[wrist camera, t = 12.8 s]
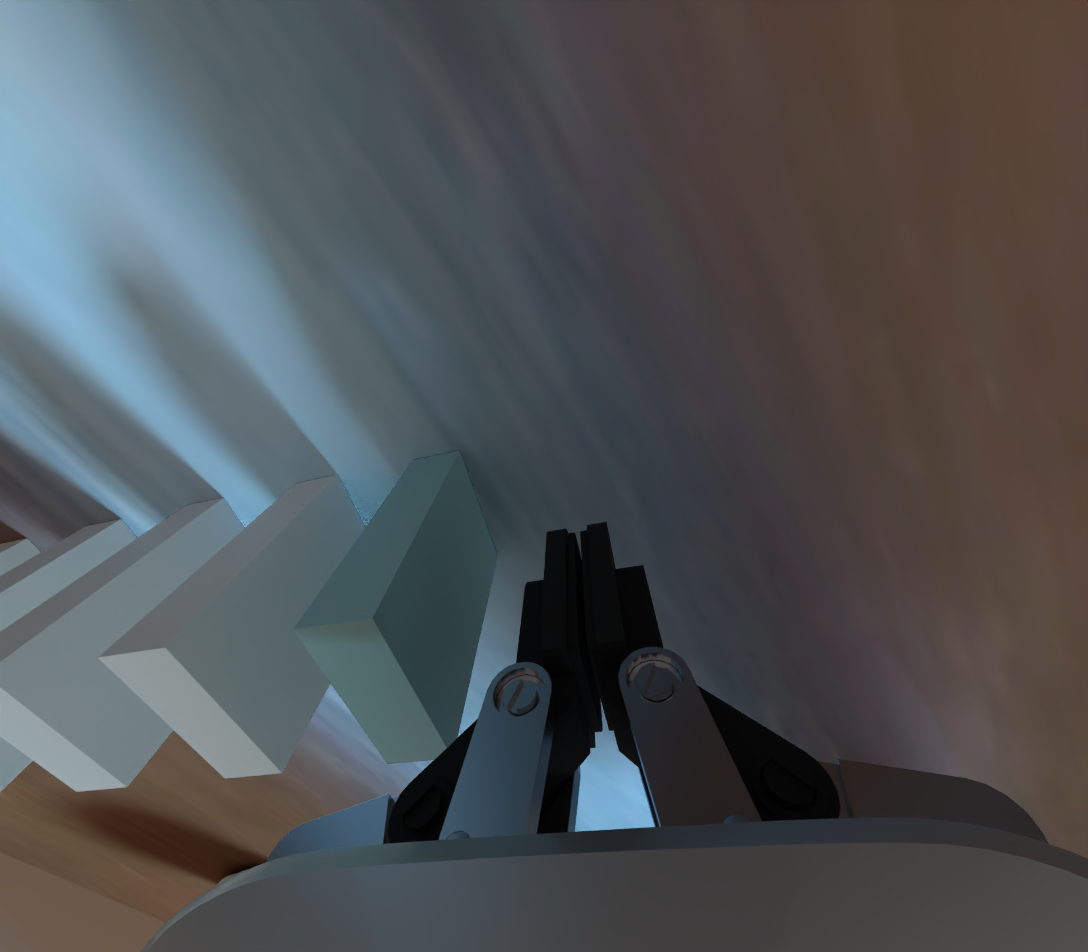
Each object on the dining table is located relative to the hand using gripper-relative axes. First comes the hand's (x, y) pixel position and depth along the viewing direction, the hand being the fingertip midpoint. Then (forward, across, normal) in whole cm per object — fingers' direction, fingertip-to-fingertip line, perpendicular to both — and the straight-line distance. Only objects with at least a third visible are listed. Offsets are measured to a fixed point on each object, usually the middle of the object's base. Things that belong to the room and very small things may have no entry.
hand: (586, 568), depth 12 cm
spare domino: (+5, +5, 0) cm, 7 cm away
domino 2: (+5, +10, 0) cm, 11 cm away
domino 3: (+5, +15, 0) cm, 16 cm away
